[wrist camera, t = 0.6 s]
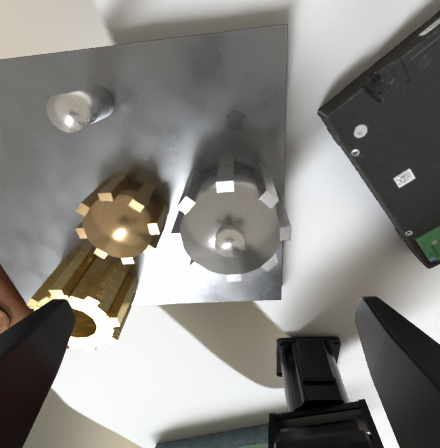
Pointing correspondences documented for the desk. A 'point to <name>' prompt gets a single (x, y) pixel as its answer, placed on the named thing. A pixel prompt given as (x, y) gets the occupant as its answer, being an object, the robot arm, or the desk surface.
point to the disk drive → (398, 136)
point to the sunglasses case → (11, 303)
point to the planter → (225, 439)
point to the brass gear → (90, 297)
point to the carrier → (149, 164)
